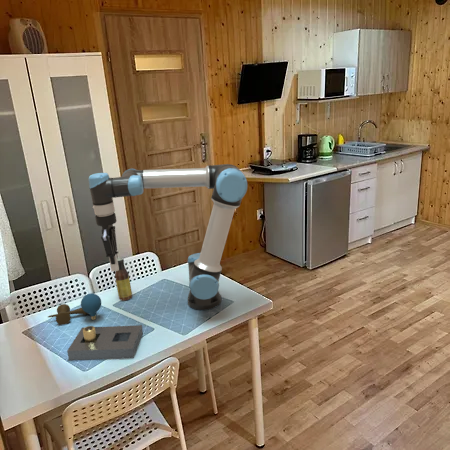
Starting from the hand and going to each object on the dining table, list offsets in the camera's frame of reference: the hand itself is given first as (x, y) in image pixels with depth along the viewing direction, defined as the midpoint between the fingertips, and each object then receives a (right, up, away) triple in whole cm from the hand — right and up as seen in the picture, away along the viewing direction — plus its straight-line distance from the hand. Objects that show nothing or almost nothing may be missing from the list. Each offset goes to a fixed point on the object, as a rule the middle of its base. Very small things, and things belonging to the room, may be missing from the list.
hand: (115, 270), depth 171 cm
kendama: (-22, -23, +16) cm, 36 cm away
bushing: (-7, -29, -7) cm, 30 cm away
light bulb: (-13, -23, +14) cm, 29 cm away
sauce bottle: (-3, -17, +31) cm, 36 cm away
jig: (-1, -28, -7) cm, 29 cm away
